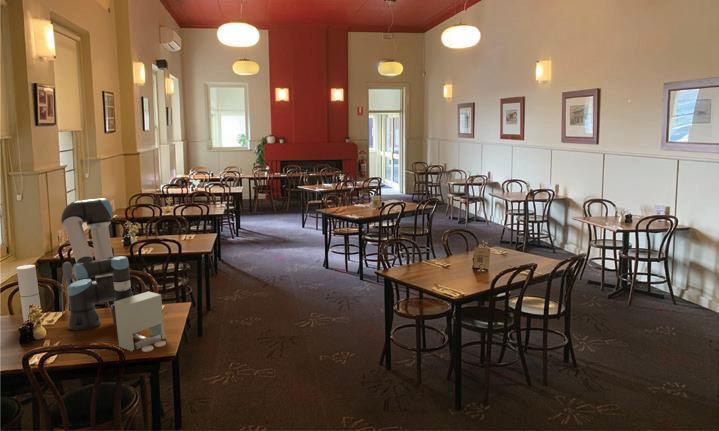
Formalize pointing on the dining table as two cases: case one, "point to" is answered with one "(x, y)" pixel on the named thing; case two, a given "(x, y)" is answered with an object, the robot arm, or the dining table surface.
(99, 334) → the dining table surface
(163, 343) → the coaster
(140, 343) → the scraper
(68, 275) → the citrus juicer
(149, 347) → the coaster
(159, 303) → the cabinet
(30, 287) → the container
